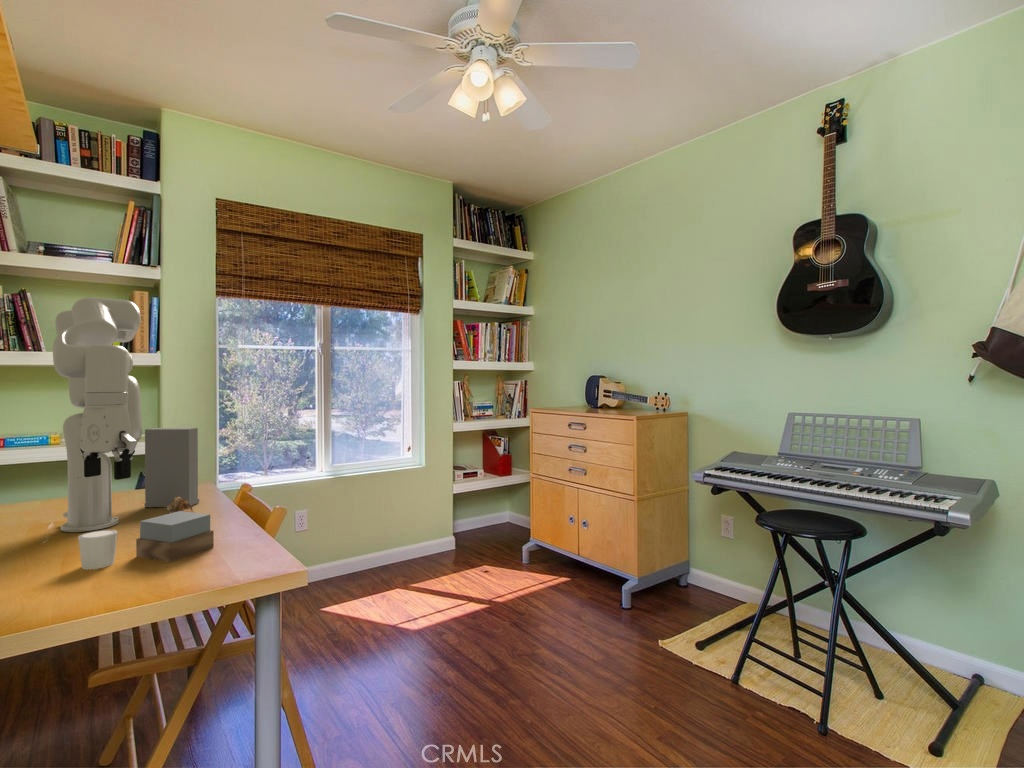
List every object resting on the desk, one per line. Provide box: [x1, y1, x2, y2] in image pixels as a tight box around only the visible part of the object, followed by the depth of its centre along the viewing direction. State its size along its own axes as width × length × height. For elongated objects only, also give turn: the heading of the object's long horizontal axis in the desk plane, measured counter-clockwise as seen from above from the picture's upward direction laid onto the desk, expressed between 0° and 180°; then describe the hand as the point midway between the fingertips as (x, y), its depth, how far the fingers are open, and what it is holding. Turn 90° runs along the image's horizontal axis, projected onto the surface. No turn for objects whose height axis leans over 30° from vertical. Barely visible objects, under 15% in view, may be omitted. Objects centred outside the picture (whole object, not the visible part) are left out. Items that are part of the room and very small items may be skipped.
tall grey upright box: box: [144, 427, 200, 508], centre depth 170 cm, size 14×6×25 cm, turn 93°
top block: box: [139, 511, 211, 543], centre depth 125 cm, size 10×10×4 cm
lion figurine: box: [166, 497, 195, 514], centre depth 140 cm, size 15×5×9 cm, turn 50°
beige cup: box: [77, 529, 118, 571], centre depth 116 cm, size 7×7×7 cm
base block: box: [135, 529, 215, 563], centre depth 125 cm, size 11×11×4 cm
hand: (107, 477), depth 117 cm, fingers open, 9 cm apart
